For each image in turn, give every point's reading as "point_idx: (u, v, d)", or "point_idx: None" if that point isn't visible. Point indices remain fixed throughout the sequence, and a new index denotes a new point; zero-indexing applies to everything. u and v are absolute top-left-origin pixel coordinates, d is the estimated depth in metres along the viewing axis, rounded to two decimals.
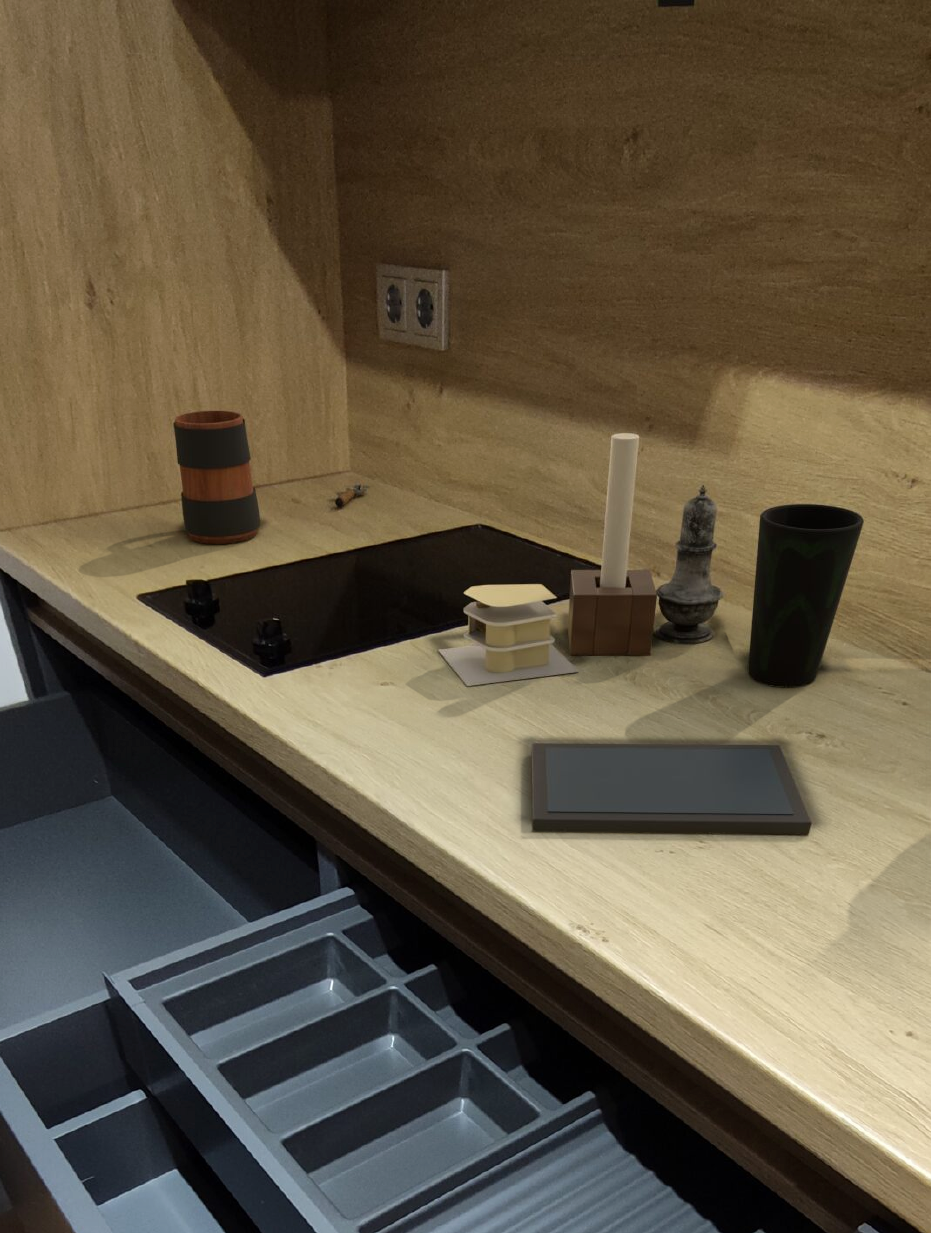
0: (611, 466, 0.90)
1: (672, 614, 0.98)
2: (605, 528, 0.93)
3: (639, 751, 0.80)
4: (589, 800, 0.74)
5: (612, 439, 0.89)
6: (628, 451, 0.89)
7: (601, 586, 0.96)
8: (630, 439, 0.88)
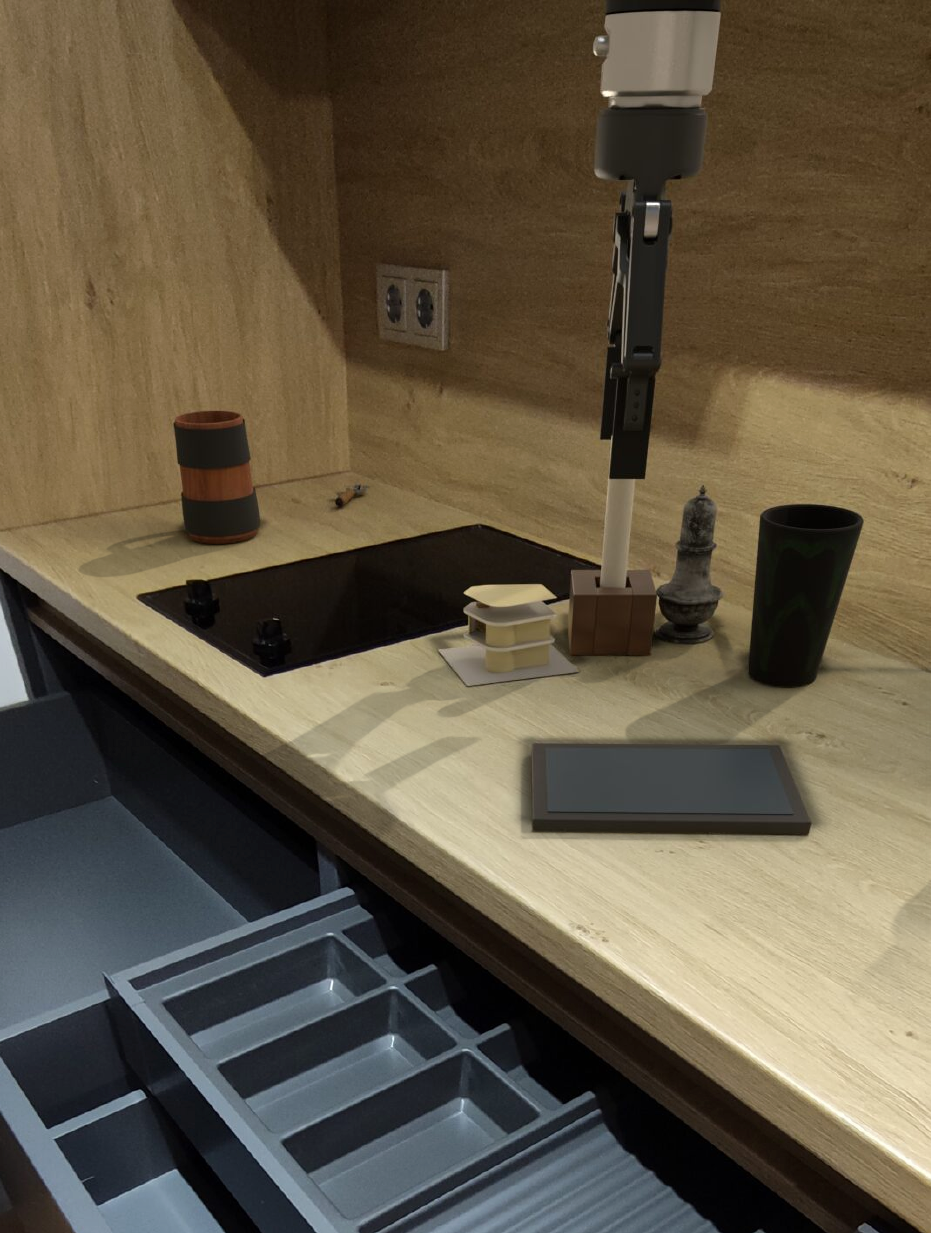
0: None
1: (672, 614, 0.98)
2: (605, 528, 0.93)
3: (639, 751, 0.80)
4: (589, 800, 0.74)
5: None
6: None
7: (601, 586, 0.96)
8: None
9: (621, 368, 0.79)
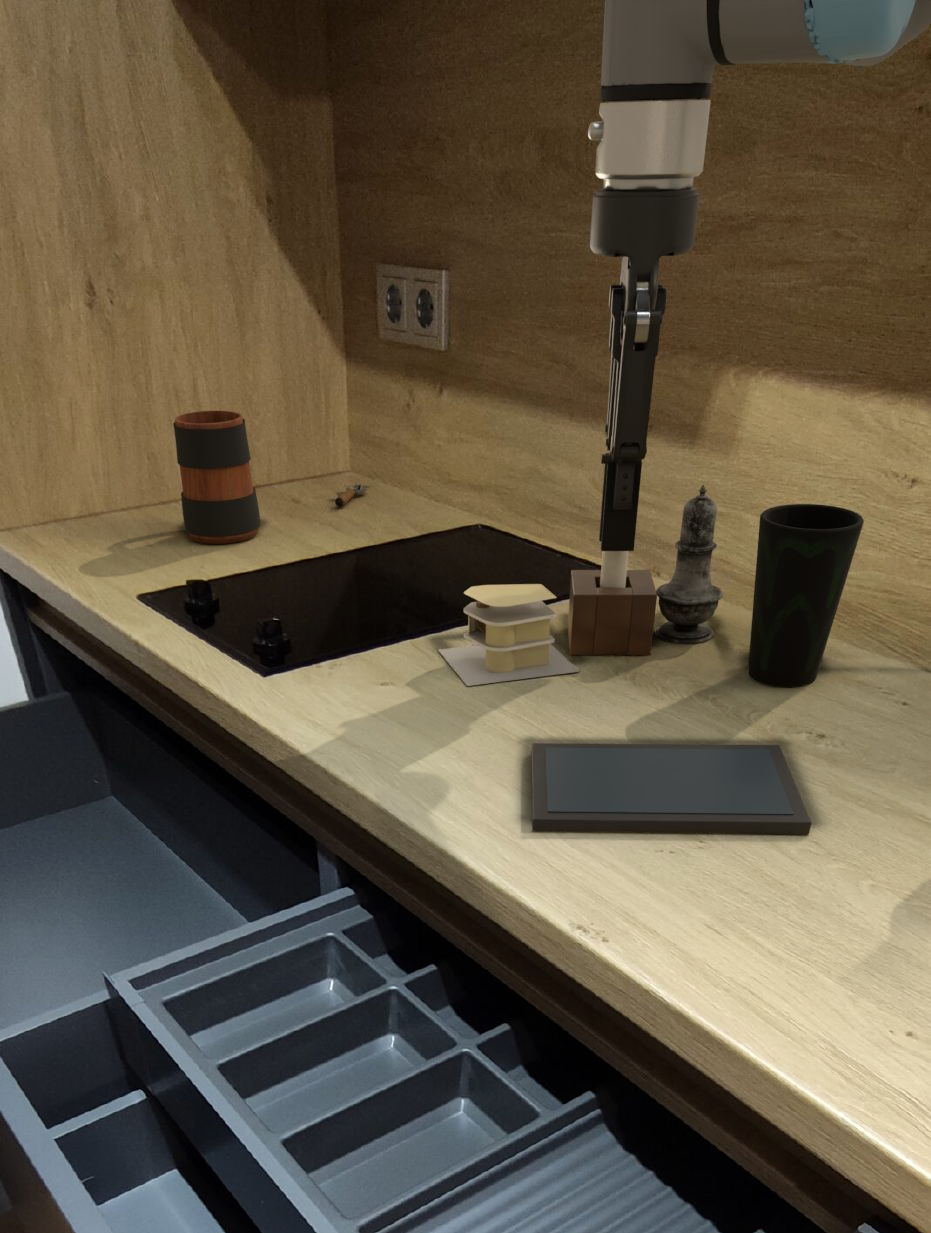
0: None
1: (672, 614, 0.98)
2: None
3: (639, 751, 0.80)
4: (589, 800, 0.74)
5: None
6: None
7: (601, 586, 0.96)
8: None
9: (610, 460, 0.87)
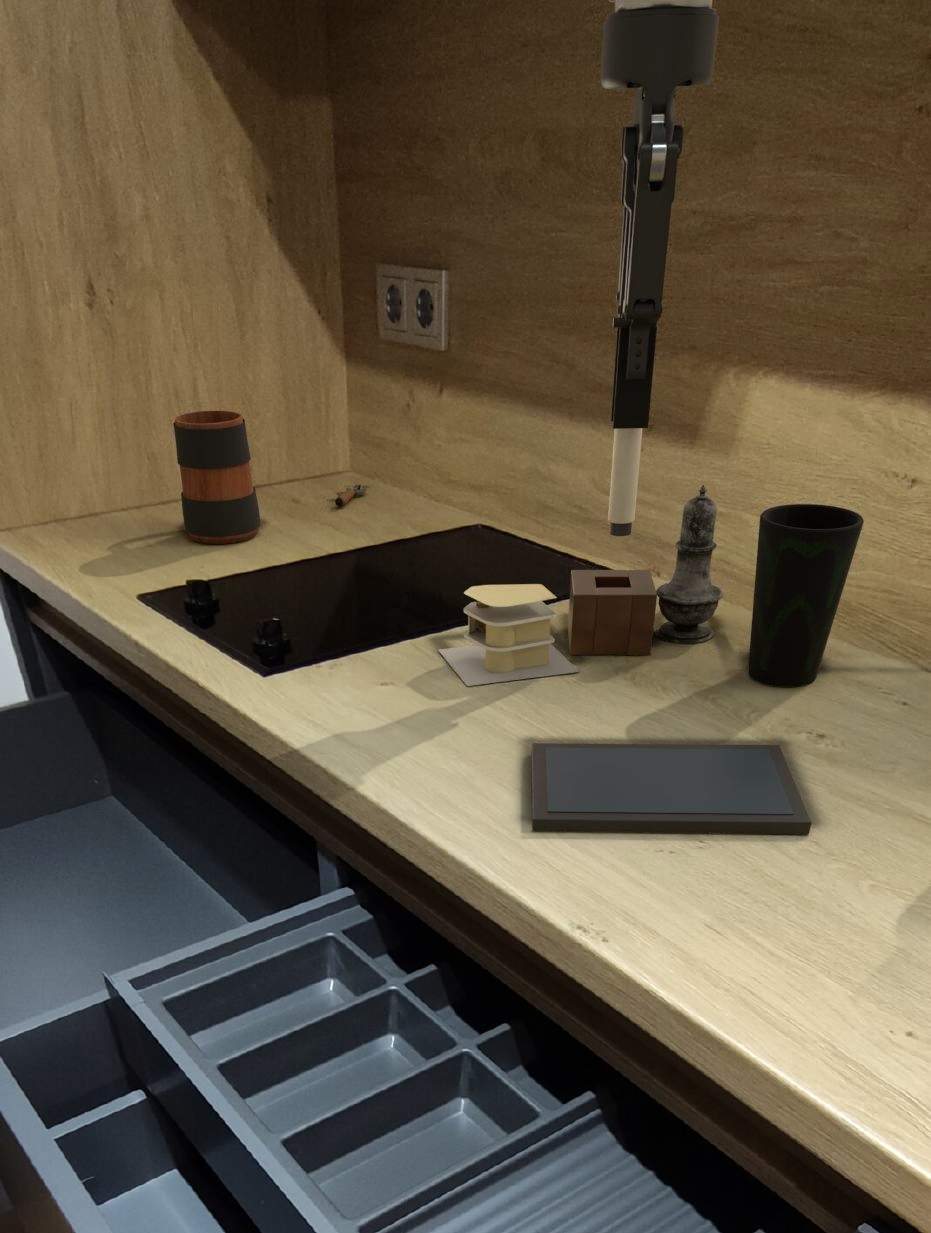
0: None
1: (672, 614, 0.98)
2: None
3: (639, 751, 0.80)
4: (589, 800, 0.74)
5: None
6: None
7: (613, 471, 0.90)
8: None
9: (623, 322, 0.81)
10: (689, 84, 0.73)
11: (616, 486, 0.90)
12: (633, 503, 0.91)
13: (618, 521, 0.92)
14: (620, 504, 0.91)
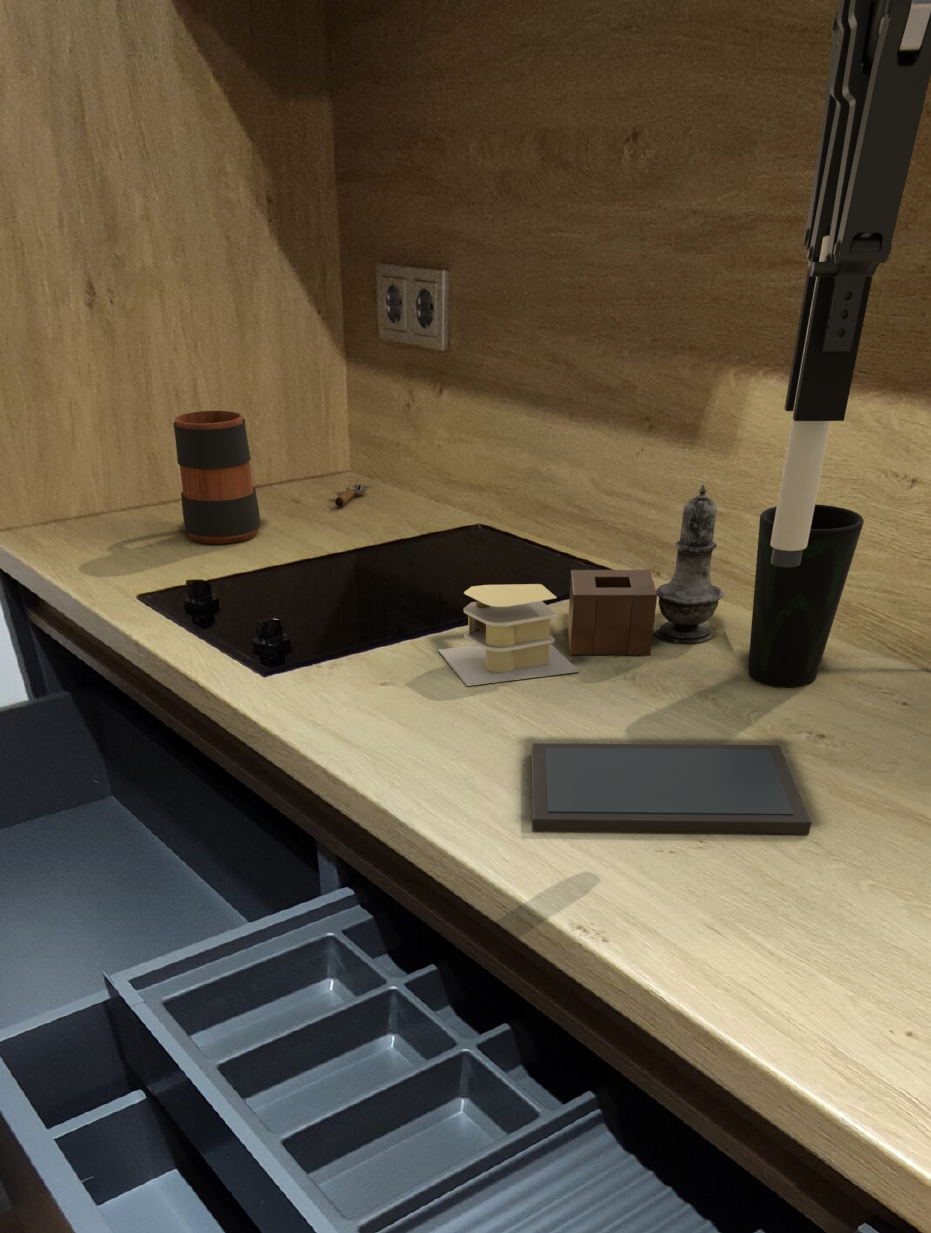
0: None
1: (672, 614, 0.98)
2: None
3: (639, 751, 0.80)
4: (589, 800, 0.74)
5: (825, 241, 0.58)
6: None
7: (785, 479, 0.65)
8: None
9: (827, 269, 0.57)
10: None
11: (787, 500, 0.66)
12: (809, 523, 0.67)
13: (786, 547, 0.67)
14: (791, 524, 0.67)
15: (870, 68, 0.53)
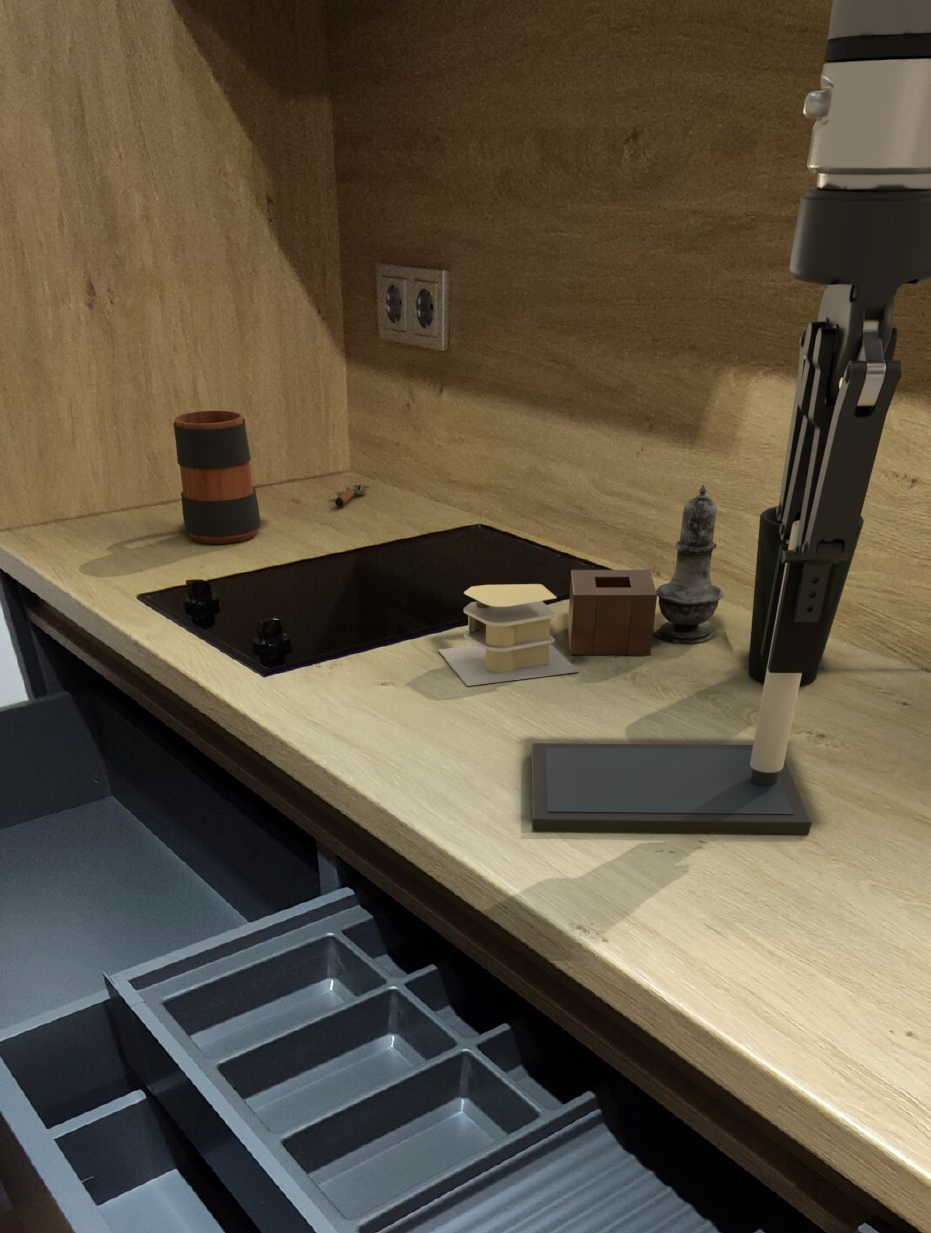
0: None
1: (672, 614, 0.98)
2: None
3: (639, 751, 0.80)
4: (589, 800, 0.74)
5: (794, 528, 0.65)
6: None
7: (762, 714, 0.73)
8: None
9: (796, 559, 0.64)
10: (913, 282, 0.56)
11: (764, 732, 0.73)
12: (784, 750, 0.74)
13: (764, 770, 0.74)
14: (768, 752, 0.74)
15: (832, 403, 0.60)
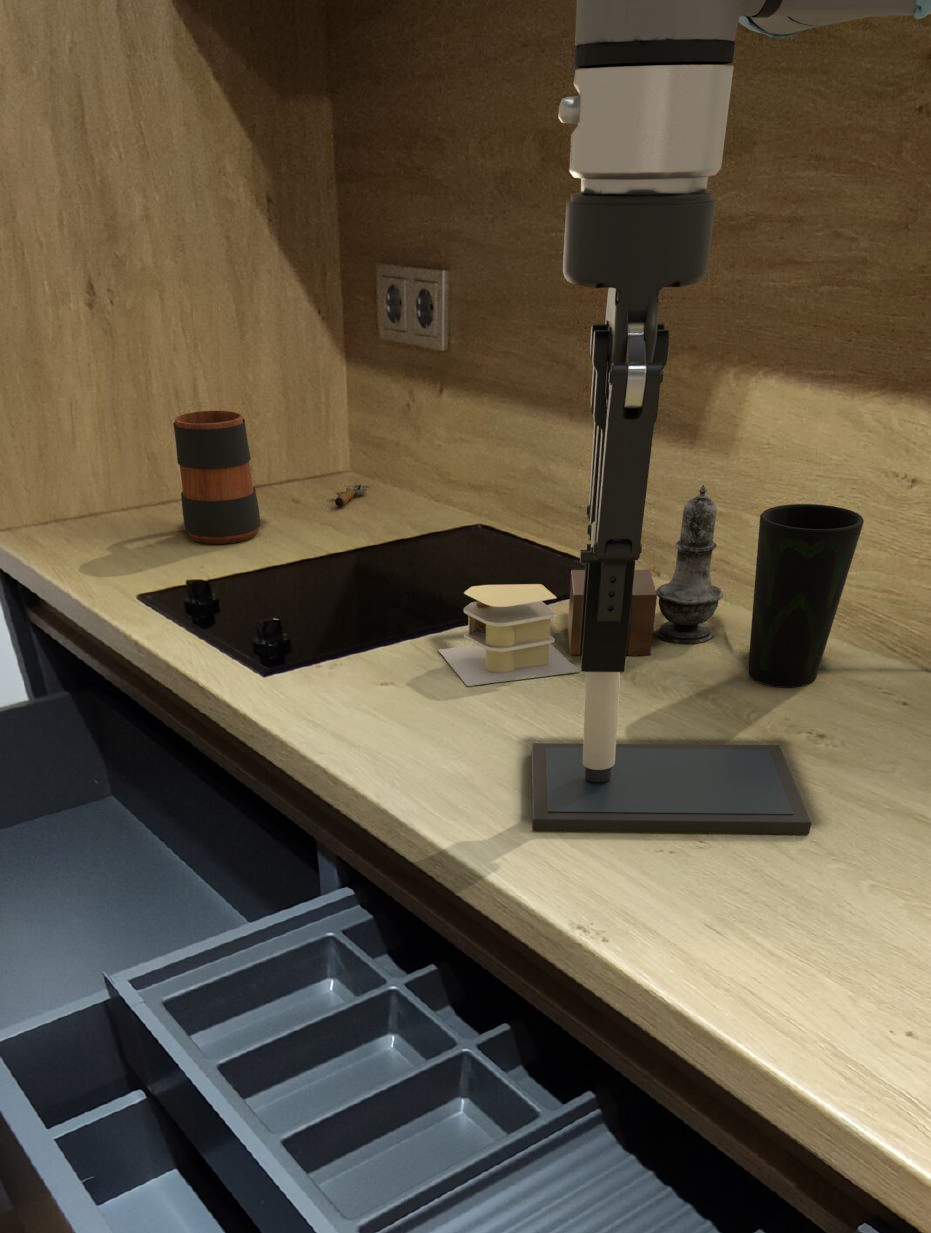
0: None
1: (672, 614, 0.98)
2: None
3: (639, 751, 0.80)
4: (589, 800, 0.74)
5: (593, 528, 0.66)
6: None
7: (586, 712, 0.73)
8: None
9: (592, 559, 0.65)
10: (676, 286, 0.56)
11: (590, 730, 0.74)
12: (612, 747, 0.74)
13: (594, 767, 0.75)
14: (596, 749, 0.74)
15: None
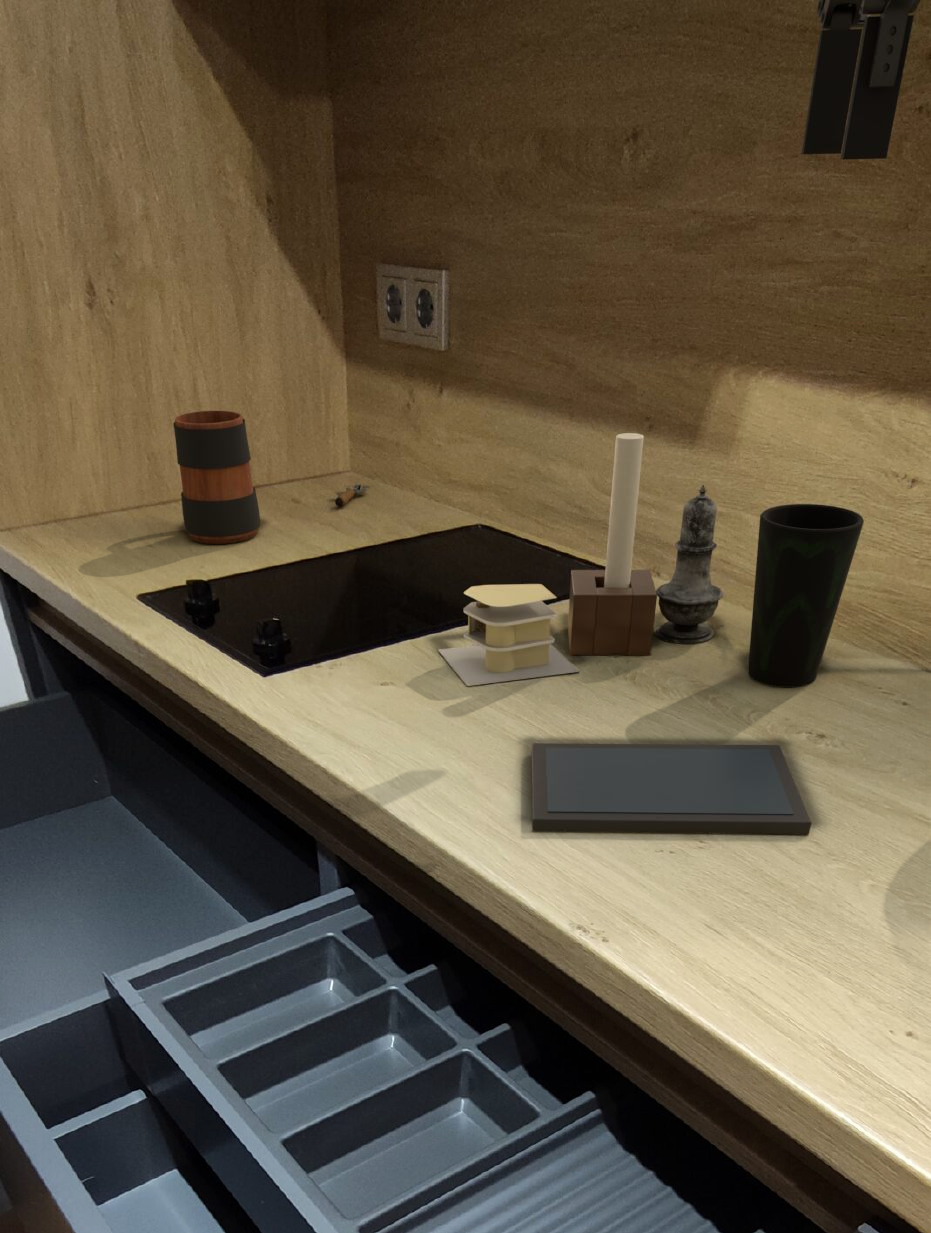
0: (615, 466, 0.90)
1: (672, 614, 0.98)
2: (609, 528, 0.93)
3: (639, 751, 0.80)
4: (589, 800, 0.74)
5: (617, 439, 0.89)
6: (633, 451, 0.89)
7: (605, 586, 0.96)
8: (635, 439, 0.88)
9: None
10: None
11: None
12: None
13: None
14: None
15: None
